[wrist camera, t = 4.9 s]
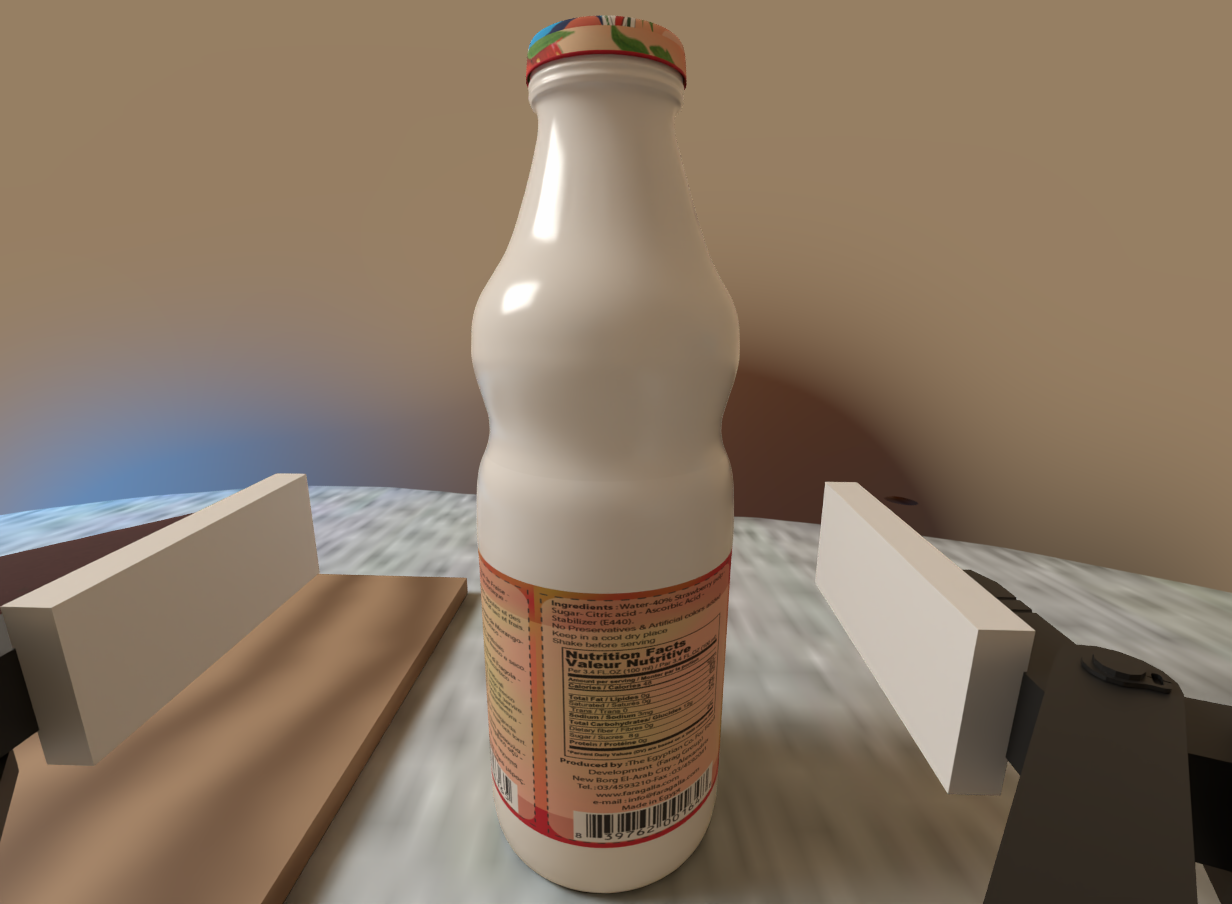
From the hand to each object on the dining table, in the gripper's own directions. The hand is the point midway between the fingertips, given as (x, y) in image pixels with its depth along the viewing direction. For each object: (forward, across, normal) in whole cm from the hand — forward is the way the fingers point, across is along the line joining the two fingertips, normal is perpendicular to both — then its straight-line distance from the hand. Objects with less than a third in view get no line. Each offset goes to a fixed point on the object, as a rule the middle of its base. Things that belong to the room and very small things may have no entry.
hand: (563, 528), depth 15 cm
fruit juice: (+7, +1, -15) cm, 17 cm away
